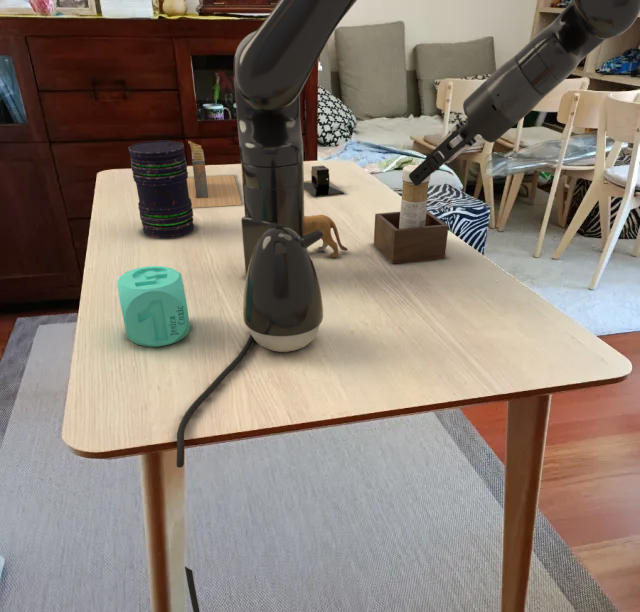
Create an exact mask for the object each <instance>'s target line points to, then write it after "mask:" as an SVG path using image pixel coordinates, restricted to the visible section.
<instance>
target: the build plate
mask: <svg viewBox="0 0 640 612" xmlns="http://www.w3.org/2000/svg"><path fill="white" fill-rule="evenodd" d="M310 178H311V179H310V180H304V191H306V192H307V193H309V195H310V196H312V197H313V198H321V197H322V198H323V197H332V196H339V195H345V192H344V191H343V190H342V189H340V188H339V187H337V186H335V184H333V183H332V182H331V181H330V169H329V168H328V167H326V166H325V165H313V166H311V170H310Z"/></svg>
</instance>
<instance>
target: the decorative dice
mask: <svg viewBox="0 0 640 612" xmlns="http://www.w3.org/2000/svg"><path fill="white" fill-rule="evenodd" d="M116 281H117V291H118V297H119V303H120V304H119V305H120V310H121V314H122V319H123V320H122V321H123V324H124V328H125V333H126V337H127V339H128V340H129V341H130V342H132V343H134V344H136V345H139V346H142V347H149V348H156V347H158V348H159V347H164V346H169V345H173V344H176V343H178V342H180V341H182V340H183V339H184V338H186V336H187V335H188V334H189V332H190V331H191V324H190V317H189V309H188V303H187V296H186V292H185V286H184V280H183V277H182V273H181V272H180V271H178V270H177V269H175V268H173V267H169V266H164V265H149V266H141V267H137V268H133V269H130V270H128V271H126V272H124V273H123V274H121V275H120V276H119V277H118V279H117V280H116Z"/></svg>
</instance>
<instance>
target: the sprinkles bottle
mask: <svg viewBox="0 0 640 612" xmlns="http://www.w3.org/2000/svg"><path fill="white" fill-rule="evenodd" d="M419 165H420V164H409V165H405V166H404V167H402V172H401V173H402V175H401V179H402V186H401V187H402V188H401V200H400V201H401V203H400V210H399V212H400V223H399V229H404V228H414V227H424V226H425V221H426V211H428V194H429V184H430V181H431V175H429V176H428V177H427V178H426V179H425V180H424V181H423V182H421V183H420V184H419V185H418V186H416V185H414V183H413V182H412V181H411V179H410V178H409V174H410V173H411V172H412V171H413V170H414V169H416V168H417V167H418V166H419Z"/></svg>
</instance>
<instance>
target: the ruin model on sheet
mask: <svg viewBox="0 0 640 612" xmlns="http://www.w3.org/2000/svg"><path fill="white" fill-rule="evenodd" d="M187 143H188V145H189V146H190V150H191V151H190V152H191V165H192V171H193V172H192V173H193V177H188V178H187V184H188V192H189V198H190V199H191V203H192V209H195V208H212V207H213V208H214V207H228V206H242V205H243V204H242V200H241V197H240V192H239V189H238V186H237V181H236V178H235V175H216V176H207V171H206V161H205V154H204V149H202V145H200V144H197V143H196V142H192V141H191V140H188V141H187Z"/></svg>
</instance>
